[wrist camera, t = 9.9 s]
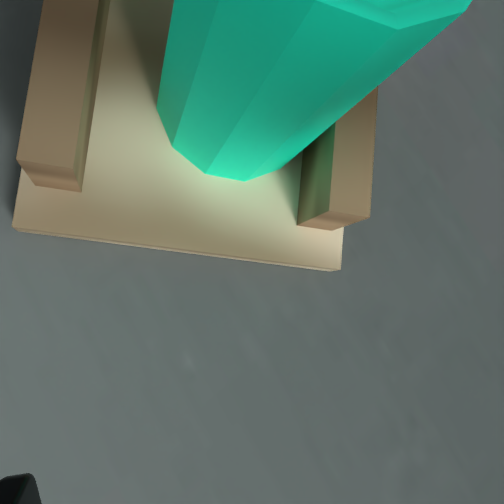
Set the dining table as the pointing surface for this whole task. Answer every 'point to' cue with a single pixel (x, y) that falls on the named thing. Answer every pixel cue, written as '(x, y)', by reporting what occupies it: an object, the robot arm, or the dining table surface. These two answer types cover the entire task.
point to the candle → (279, 72)
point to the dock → (167, 154)
